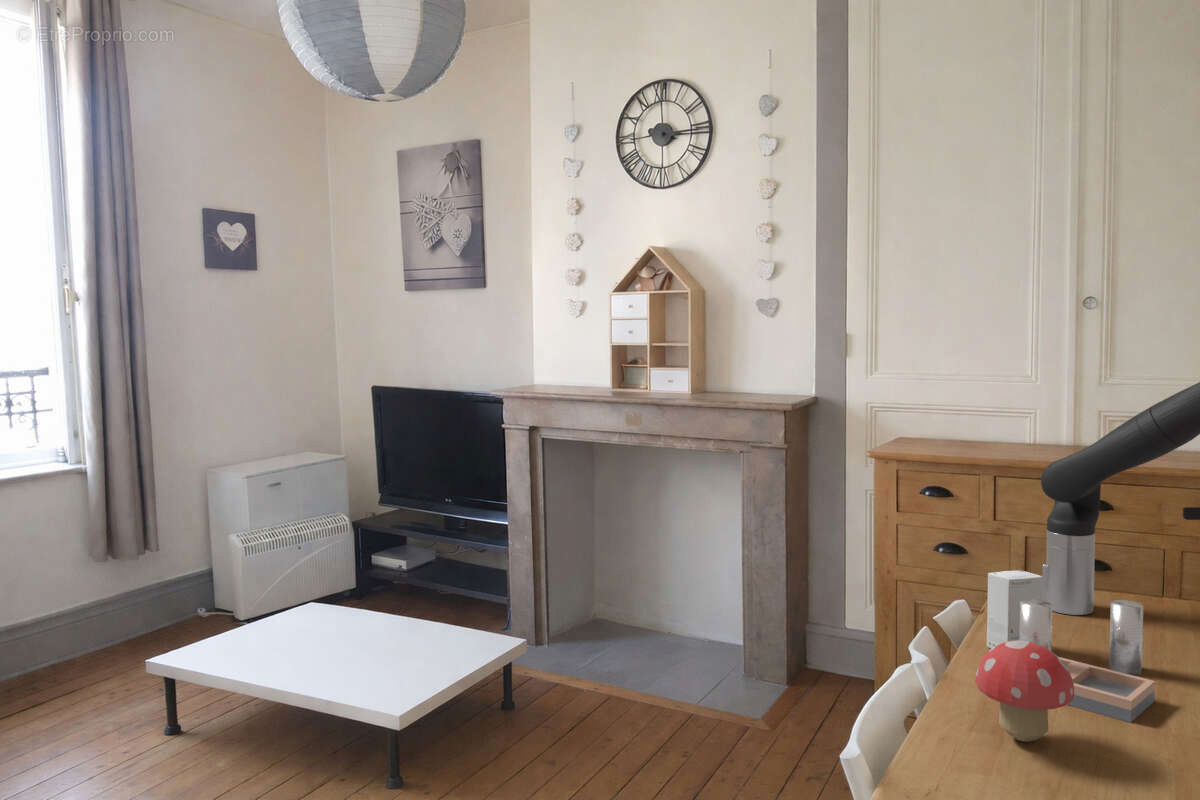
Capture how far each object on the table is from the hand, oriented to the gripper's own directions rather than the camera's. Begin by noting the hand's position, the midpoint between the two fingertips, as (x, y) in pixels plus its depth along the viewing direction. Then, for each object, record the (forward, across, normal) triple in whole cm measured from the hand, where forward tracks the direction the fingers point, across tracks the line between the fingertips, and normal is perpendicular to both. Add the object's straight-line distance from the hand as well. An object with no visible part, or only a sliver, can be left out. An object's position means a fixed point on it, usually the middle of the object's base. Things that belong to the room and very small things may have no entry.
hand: (1192, 518), depth 152 cm
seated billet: (+28, +9, +25) cm, 38 cm away
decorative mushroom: (+35, +32, +27) cm, 54 cm away
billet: (+12, 0, +27) cm, 30 cm away
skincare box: (+29, -7, +26) cm, 40 cm away
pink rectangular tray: (+24, +12, +27) cm, 38 cm away
